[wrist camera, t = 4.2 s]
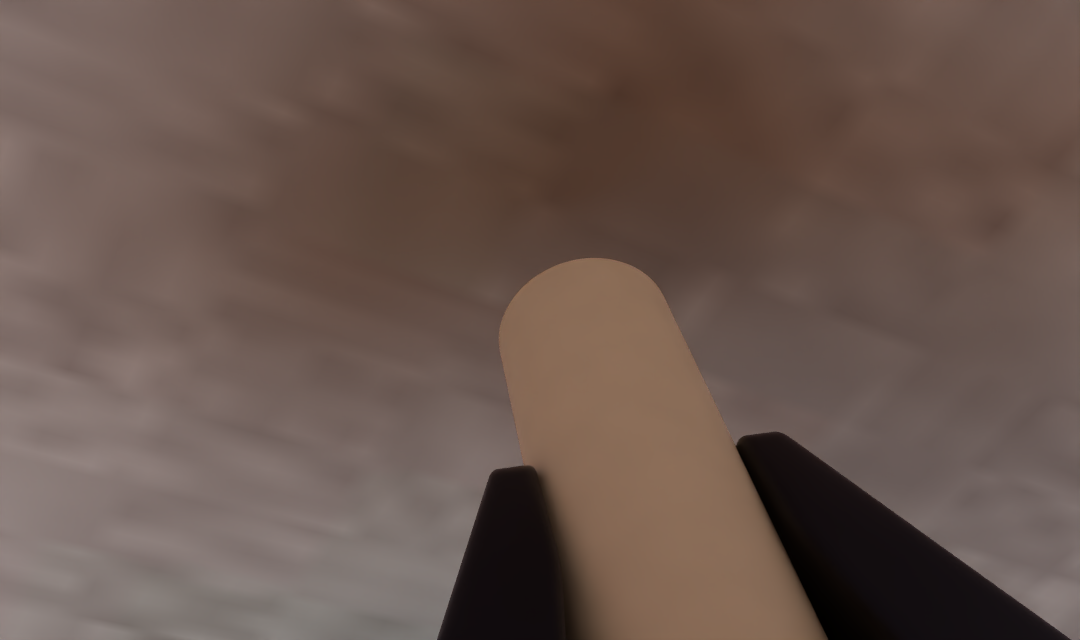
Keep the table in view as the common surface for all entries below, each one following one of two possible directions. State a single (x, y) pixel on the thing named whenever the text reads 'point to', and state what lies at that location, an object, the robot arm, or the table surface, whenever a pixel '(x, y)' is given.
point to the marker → (640, 468)
